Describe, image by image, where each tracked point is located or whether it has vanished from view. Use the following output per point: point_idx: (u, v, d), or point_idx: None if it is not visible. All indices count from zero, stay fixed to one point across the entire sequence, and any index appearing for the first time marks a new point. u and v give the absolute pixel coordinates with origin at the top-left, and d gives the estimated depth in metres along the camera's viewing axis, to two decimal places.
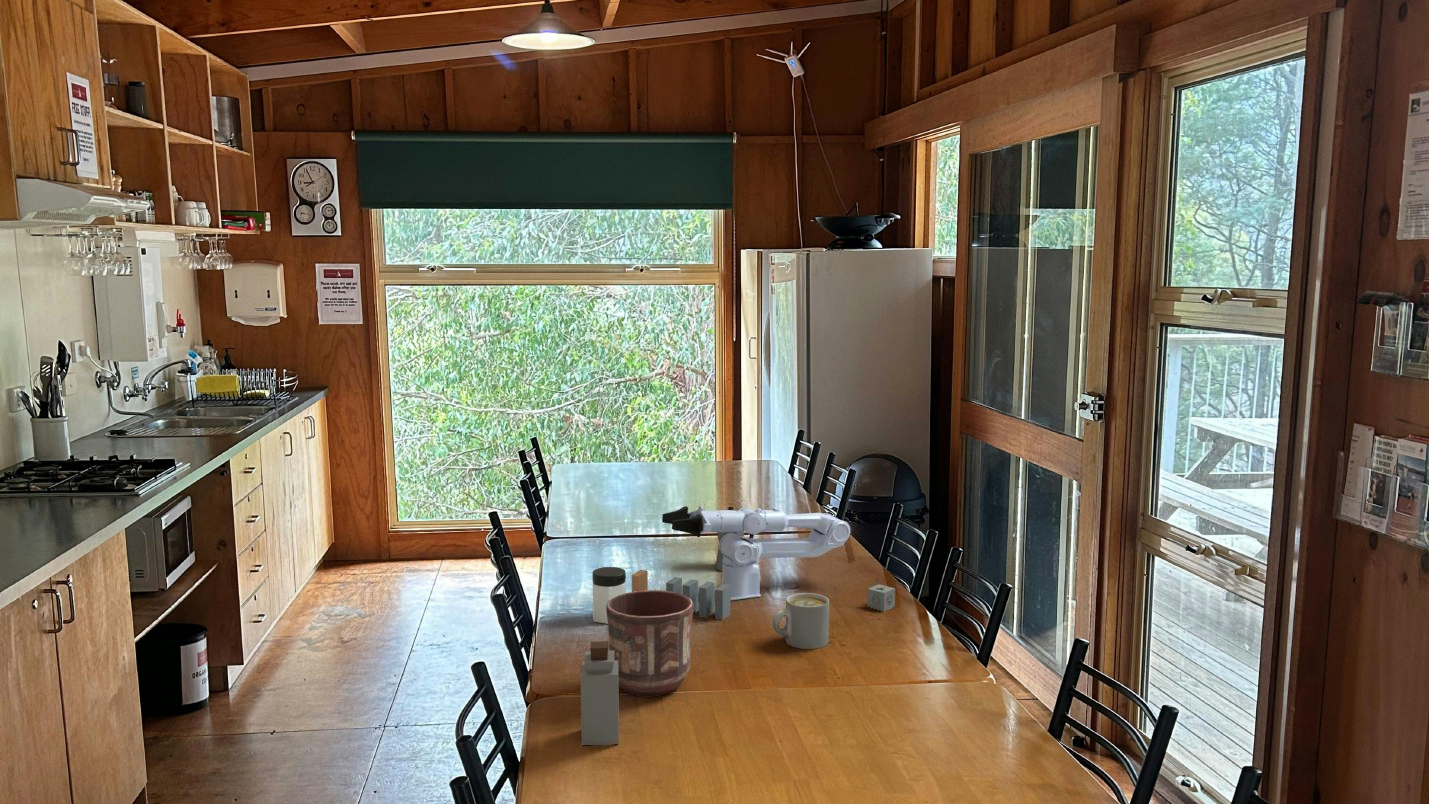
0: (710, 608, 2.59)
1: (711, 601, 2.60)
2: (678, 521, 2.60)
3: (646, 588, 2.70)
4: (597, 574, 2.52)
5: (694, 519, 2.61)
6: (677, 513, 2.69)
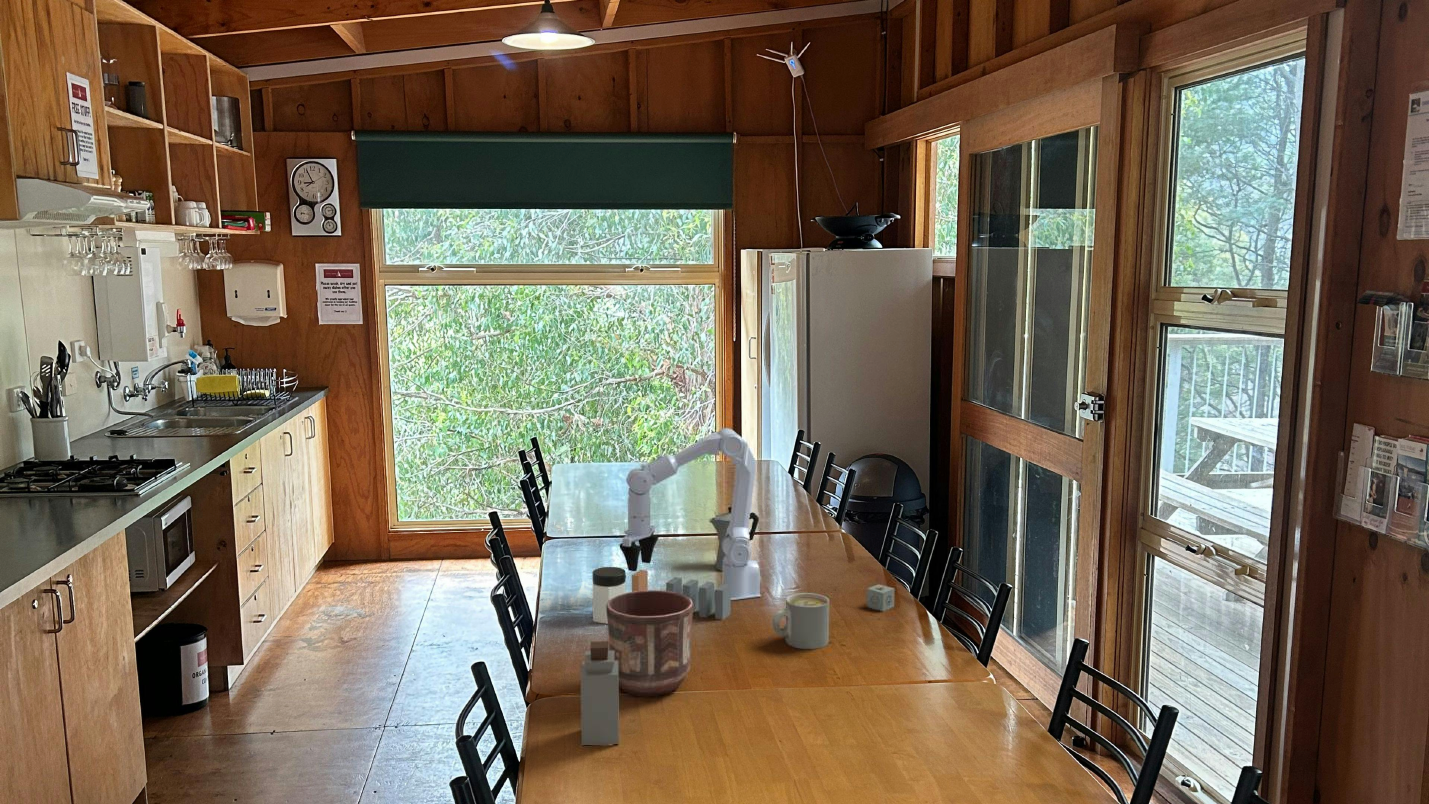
0: (710, 608, 2.59)
1: (711, 601, 2.60)
2: (627, 565, 2.65)
3: (646, 588, 2.70)
4: (597, 574, 2.52)
5: (623, 551, 2.63)
6: (641, 547, 2.71)
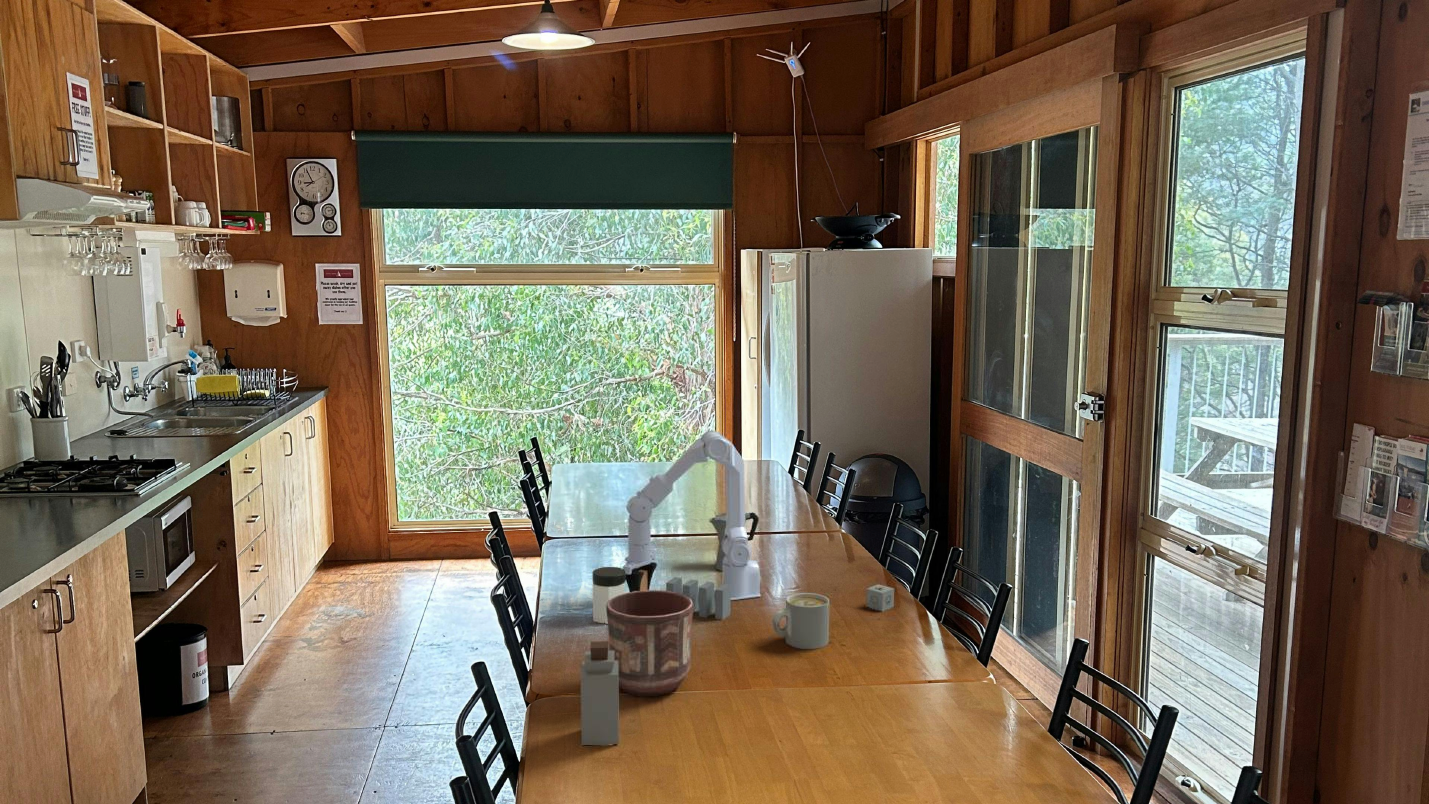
0: (710, 608, 2.59)
1: (711, 601, 2.60)
2: (630, 591, 2.66)
3: (646, 588, 2.70)
4: (597, 574, 2.52)
5: None
6: None
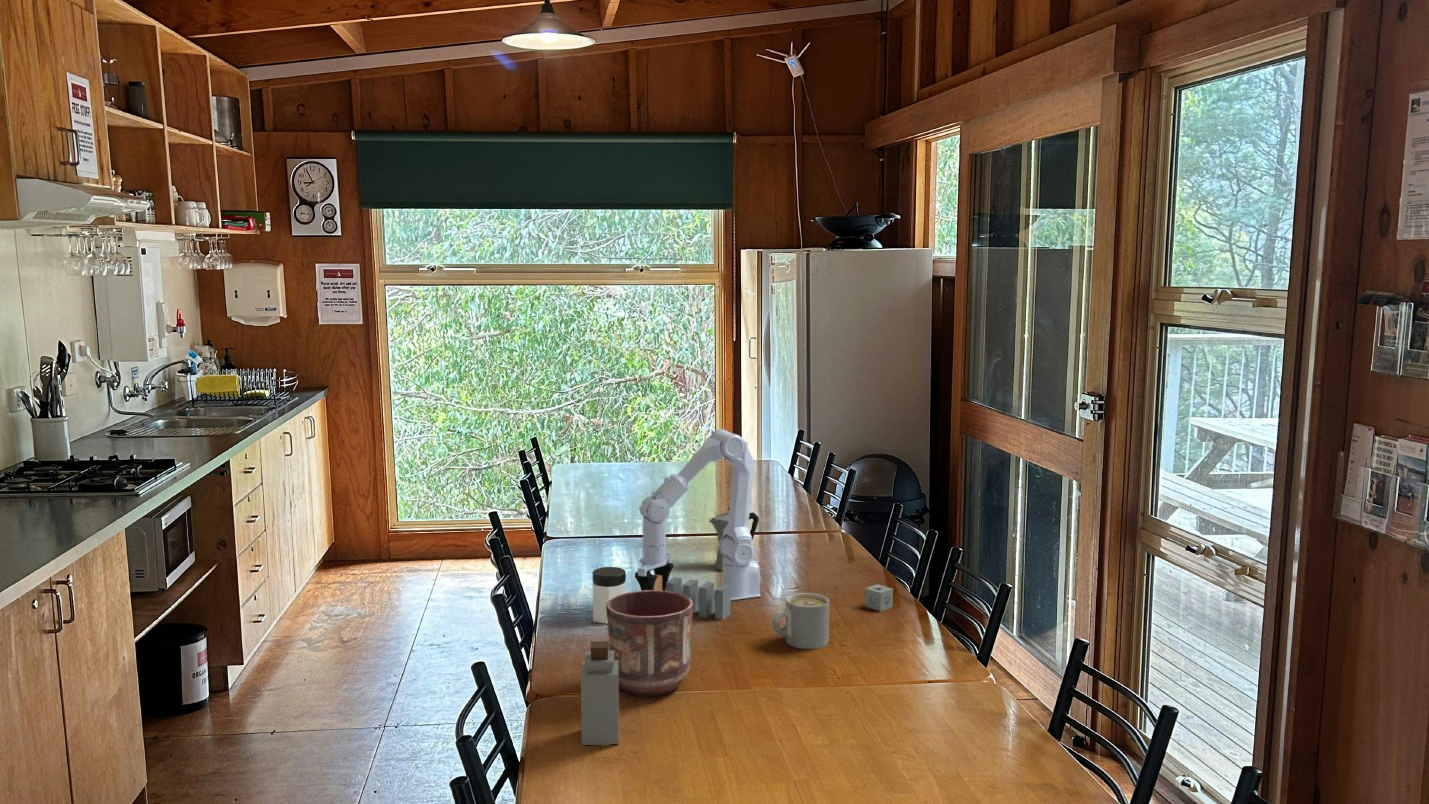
0: (710, 608, 2.59)
1: (711, 601, 2.60)
2: None
3: None
4: (597, 574, 2.52)
5: (638, 581, 2.60)
6: None
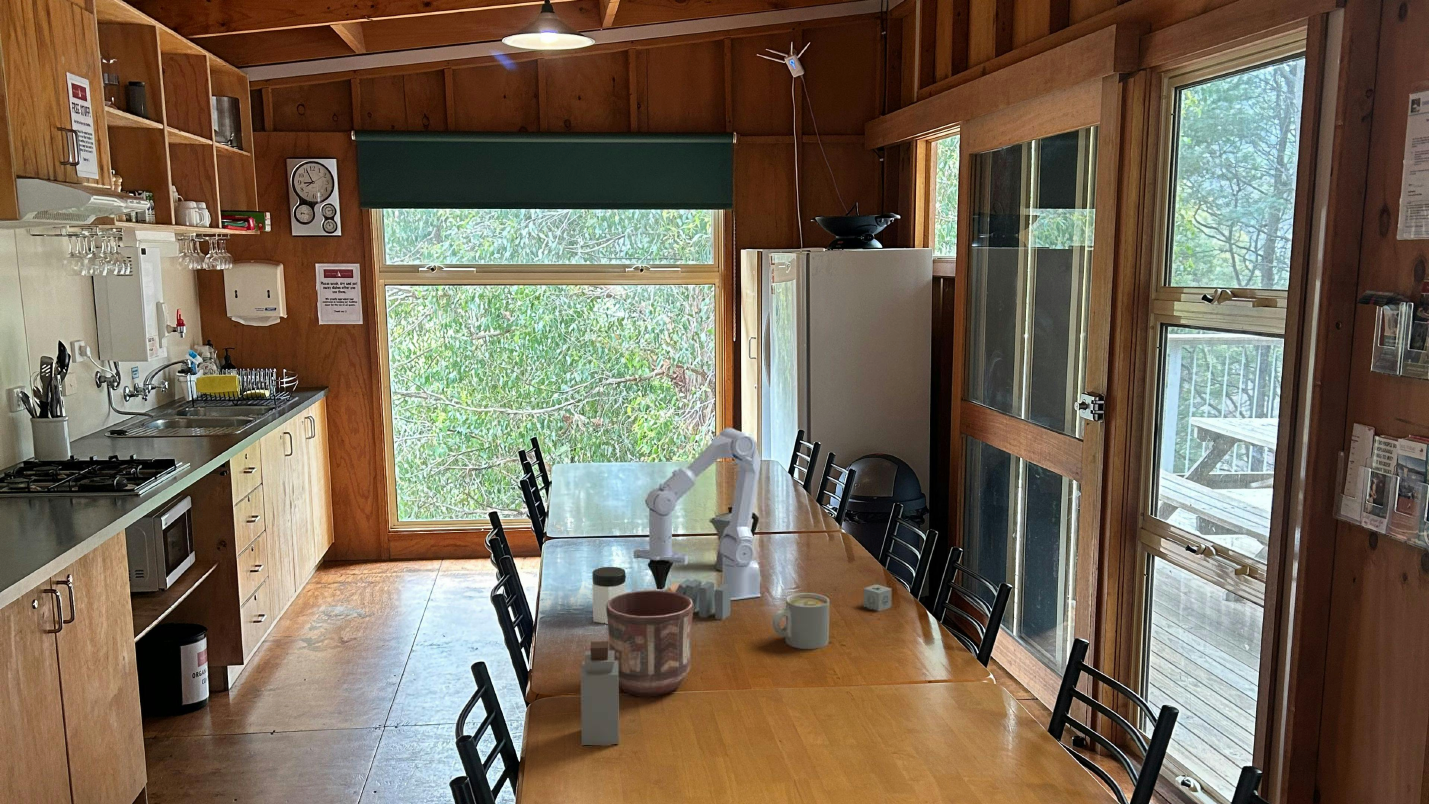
0: (710, 608, 2.59)
1: (711, 601, 2.60)
2: (661, 584, 2.63)
3: None
4: (597, 574, 2.52)
5: (664, 571, 2.61)
6: (657, 574, 2.62)
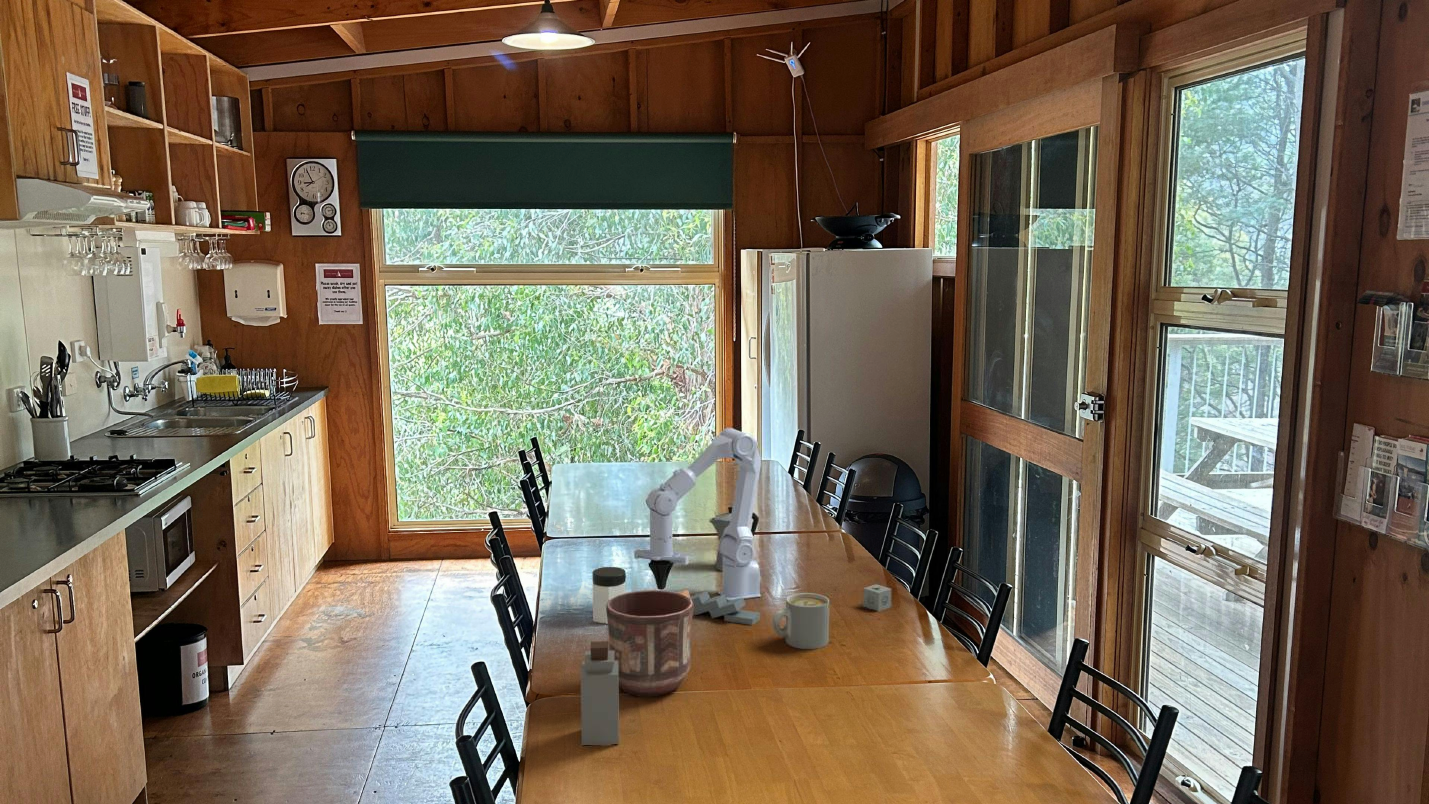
0: None
1: None
2: (662, 584, 2.62)
3: None
4: (597, 574, 2.52)
5: (665, 571, 2.61)
6: (658, 574, 2.62)
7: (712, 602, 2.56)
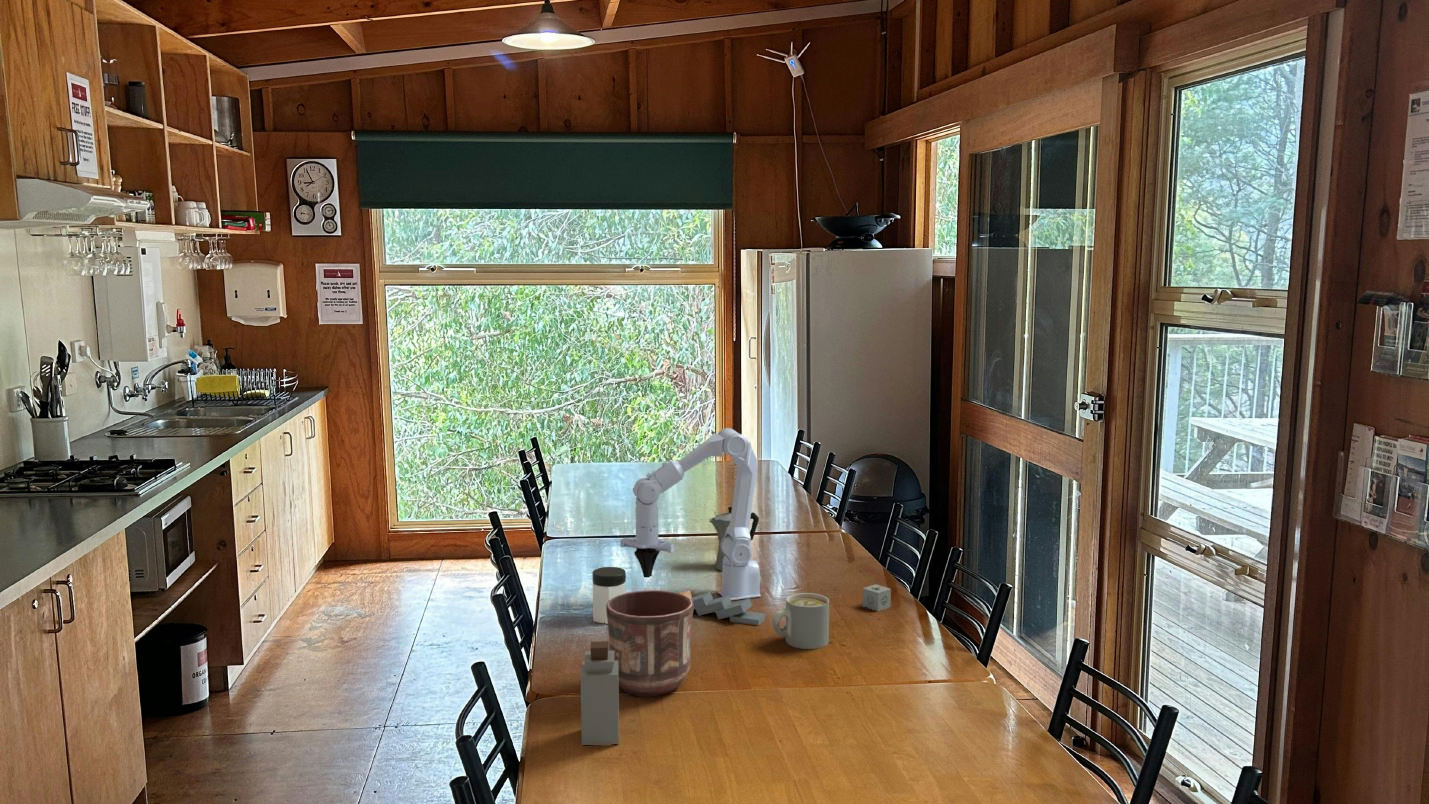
0: None
1: None
2: (648, 572, 2.66)
3: None
4: (597, 574, 2.52)
5: (650, 559, 2.64)
6: (644, 562, 2.66)
7: (717, 603, 2.56)
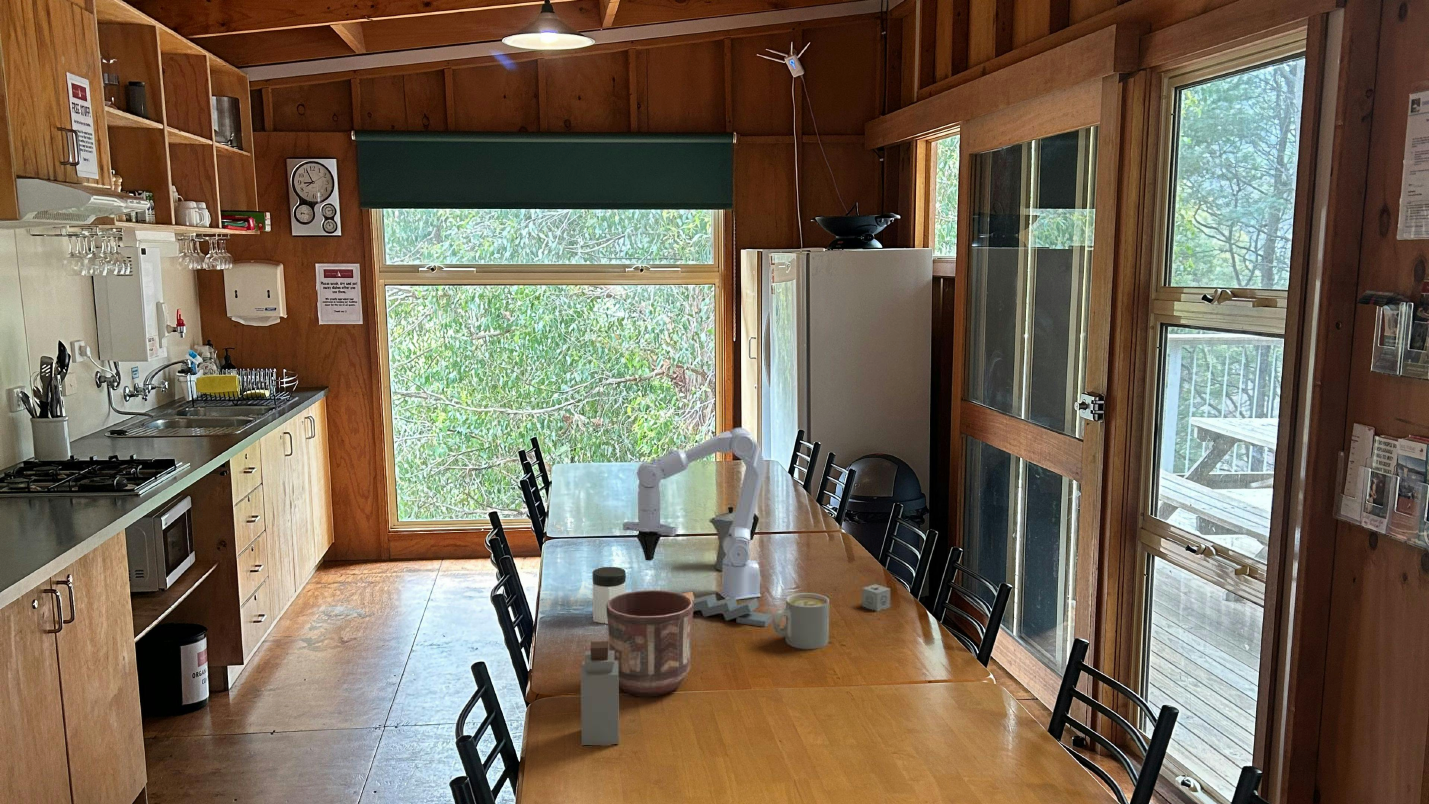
0: None
1: None
2: (650, 555, 2.69)
3: None
4: (597, 574, 2.52)
5: (652, 542, 2.67)
6: (646, 546, 2.68)
7: (723, 605, 2.55)
